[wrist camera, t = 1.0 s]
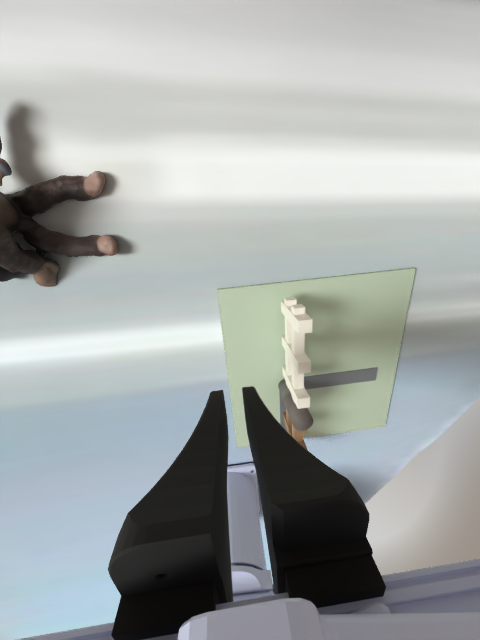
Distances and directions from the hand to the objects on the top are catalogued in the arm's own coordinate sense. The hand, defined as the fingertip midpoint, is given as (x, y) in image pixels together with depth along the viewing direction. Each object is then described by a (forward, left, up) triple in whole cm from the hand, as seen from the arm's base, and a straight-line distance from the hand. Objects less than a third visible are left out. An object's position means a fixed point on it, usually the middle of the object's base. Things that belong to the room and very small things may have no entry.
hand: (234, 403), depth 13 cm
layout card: (-5, -8, -10) cm, 14 cm away
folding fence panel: (-1, -6, -9) cm, 11 cm away
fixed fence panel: (-11, -5, -10) cm, 16 cm away
